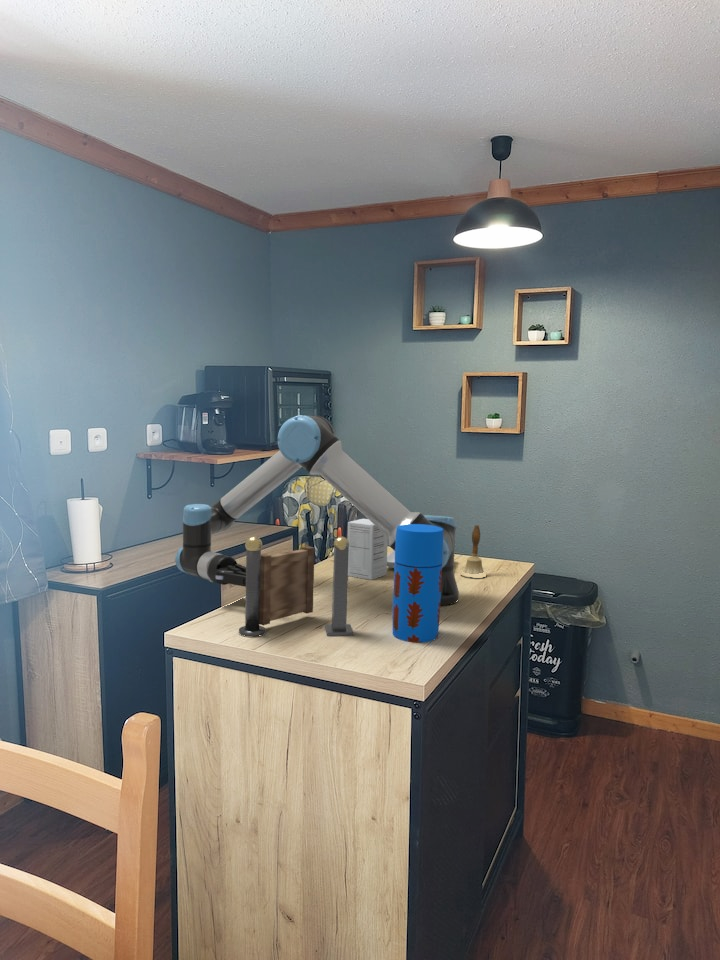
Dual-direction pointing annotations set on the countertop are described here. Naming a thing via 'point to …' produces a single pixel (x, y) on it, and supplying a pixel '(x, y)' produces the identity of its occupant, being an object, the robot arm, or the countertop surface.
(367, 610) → the countertop surface
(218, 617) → the countertop surface
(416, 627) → the thermos
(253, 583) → the hinge post
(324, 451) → the robot arm
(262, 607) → the walnut gate
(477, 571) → the hand bell
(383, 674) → the countertop surface
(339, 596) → the post
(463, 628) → the countertop surface
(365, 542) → the supplement box
